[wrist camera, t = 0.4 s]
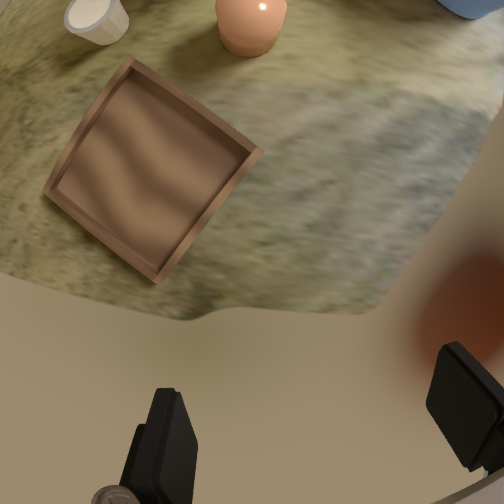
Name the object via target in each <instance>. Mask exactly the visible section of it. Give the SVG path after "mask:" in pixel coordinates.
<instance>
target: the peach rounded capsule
mask: <svg viewBox="0 0 504 504" xmlns="http://www.w3.org/2000/svg"><path fill="white" fill-rule="evenodd" d="M286 8H287V6H286V0H216V4H215V9H216V15H217V21H218V27H219V33H220V39H221V41H222V43H223V45H224V46H225V48H226V49H227V50H229V51H230V52H232V53H233V54H235V55H238V56H242V57H256V56H260V55H263V54H265V53H267V52H268V51H269V50H270V49H272V47H273V46H274V45H275V43H276V41H277V38H278V35H279V32H280V29H281V26H282V23H283V20H284V17H285V14H286Z"/></svg>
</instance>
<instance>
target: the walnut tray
mask: <svg viewBox="0 0 504 504" xmlns="http://www.w3.org/2000/svg"><path fill="white" fill-rule="evenodd" d="M263 153H264V151H263V150H261V149H260V148H259V147H258V146H256V145H255V144H254V143H253V142H251V141H250V140H249V139H248V138H246V137H245V136H244V135H242V134H241V133H240V132H238V131H237V130H236V129H235V128H233V127H232V126H231V125H229V124H228V123H227V122H225V121H224V120H223V119H221V118H220V117H219V116H217V115H216V114H215V113H213V112H212V111H210V110H209V109H208V108H206V107H205V106H204V105H202V104H201V103H199V102H198V101H197V100H195V99H194V98H192V97H191V96H190V95H188V94H187V93H185V92H184V91H183V90H181V89H180V88H178V87H177V86H175V85H174V84H172V83H171V82H169V81H168V80H167V79H165V78H164V77H162V76H161V75H159V74H158V73H156V72H155V71H153V70H152V69H150V68H148V67H147V66H145V65H144V64H142V63H141V62H139V61H138V60H136V59H135V58H133V57H131V56H130V55H129V56H128V58H127V59H126V60H125V61H124V63H123V64H122V65H121V66H120V68H119V69H118V70H117V71H116V73H115V74H114V75H113V77H112V78H111V79H110V81H109V82H108V83H107V85H106V86H105V87H104V89H103V90H102V92H101V93H100V94H99V96H98V97H97V99H96V100H95V102H94V103H93V104H92V106H91V107H90V109H89V110H88V112H87V113H86V115H85V116H84V118H83V120H82V121H81V123H80V124H79V126H78V127H77V129H76V131H75V132H74V134H73V136H72V137H71V139H70V141H69V142H68V144H67V146H66V147H65V149H64V151H63V153H62V154H61V156H60V158H59V160H58V162H57V163H56V165H55V167H54V169H53V171H52V173H51V175H50V177H49V179H48V180H47V182H46V184H45V186H44V188H43V190H42V192H43V193H44V194H46V195H47V196H48V197H49V198H50V199H51V200H52V201H53V202H55V203H56V204H57V205H58V206H59V207H60V208H62V209H63V210H64V211H65V212H66V213H67V214H68V215H70V216H71V217H72V218H73V219H74V220H76V221H77V222H78V223H79V224H80V225H82V226H83V227H84V228H85V229H86V230H88V231H89V232H90V233H91V234H92V235H94V236H95V237H96V238H97V239H99V240H100V241H101V242H102V243H104V244H105V245H106V246H107V247H109V248H110V249H111V250H112V251H114V252H115V253H116V254H117V255H119V256H120V257H121V258H123V259H124V260H125V261H126V262H128V263H129V264H130V265H132V266H133V267H134V268H136V269H137V270H138V271H140V272H141V273H142V274H144V275H145V276H146V277H148V278H149V279H150V280H152V281H153V282H154V283H156V284H157V285H158V286H160V285H161V284H162V282H163V281H164V280H165V278H166V277H167V276H168V274H169V273H170V272H171V270H172V269H173V267H174V266H175V265H176V263H177V262H178V261H179V259H180V258H181V257H182V255H183V254H184V253H185V251H186V250H187V249H188V247H189V246H190V245H191V243H192V242H193V241H194V240H195V238H196V237H197V236H198V234H199V233H200V232H201V230H202V229H203V228H204V227H205V225H206V224H207V223H208V221H209V220H210V219H211V218H212V216H213V215H214V214H215V212H216V211H217V210H218V209H219V207H220V206H221V205H222V204H223V202H224V201H225V200H226V199H227V197H228V196H229V195H230V193H231V192H232V191H233V190H234V189H235V187H236V186H237V185H238V184H239V182H240V181H241V180H242V179H243V177H244V176H245V175H246V174H247V172H248V171H249V170H250V169H251V168H252V166H253V165H254V164H255V163H256V162H257V160H258V159H259V158H260V157H261V155H262V154H263Z"/></svg>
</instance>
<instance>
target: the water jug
mask: <svg viewBox="0 0 504 504" xmlns="http://www.w3.org/2000/svg"><path fill="white" fill-rule="evenodd" d="M437 1H438V2H440V3H441V4H442V5H443V6H445V7H446V8H447V9H449V10H450V11H452V12H454V13H455V14H457V15H460V16H462V17H465V18H469V19H479V18H481V17H484V16H486V15H488V14H489V13H491V12H493V11H495V10H498V9H500V8H503V7H504V0H437Z"/></svg>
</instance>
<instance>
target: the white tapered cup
mask: <svg viewBox="0 0 504 504" xmlns="http://www.w3.org/2000/svg"><path fill="white" fill-rule="evenodd" d="M64 24H65V27H66V28H67V29H68V30H69V31H70V32H72V33H74V34H76V35H78V36H81V37H83V38H85V39H87V40H89V41H91V42H94V43H96V44H99V45H109V44H112V43H114V42H116V41H118V40H119V39H120V38H121V37H122V36H123V35H124V34H125V32H126V31H127V29H128V26H129V18H128V15H127V13H126V11H125V9H124V8H123V6H122V4H121V2H120V0H72V1H71V2H70V4H69V6H68V7H67V9H66V11H65V15H64Z"/></svg>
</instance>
